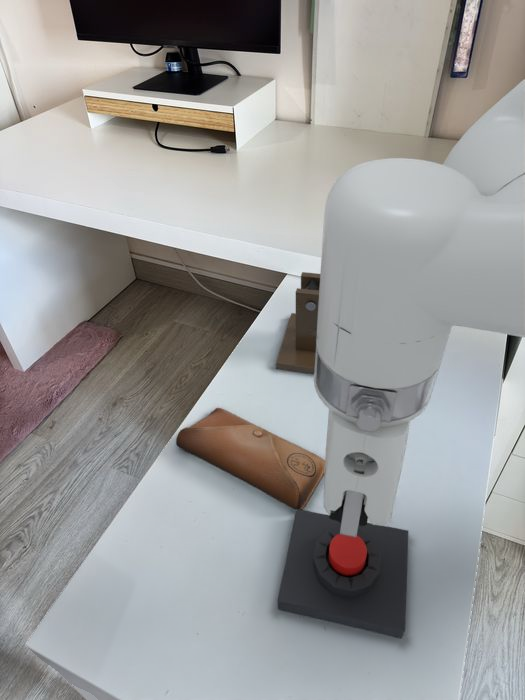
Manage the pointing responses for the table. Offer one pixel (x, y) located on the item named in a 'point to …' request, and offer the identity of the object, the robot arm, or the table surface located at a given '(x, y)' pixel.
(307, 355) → the bracket
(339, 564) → the stop button
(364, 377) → the robot arm
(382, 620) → the stop block
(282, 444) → the sunglasses case
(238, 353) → the table surface
